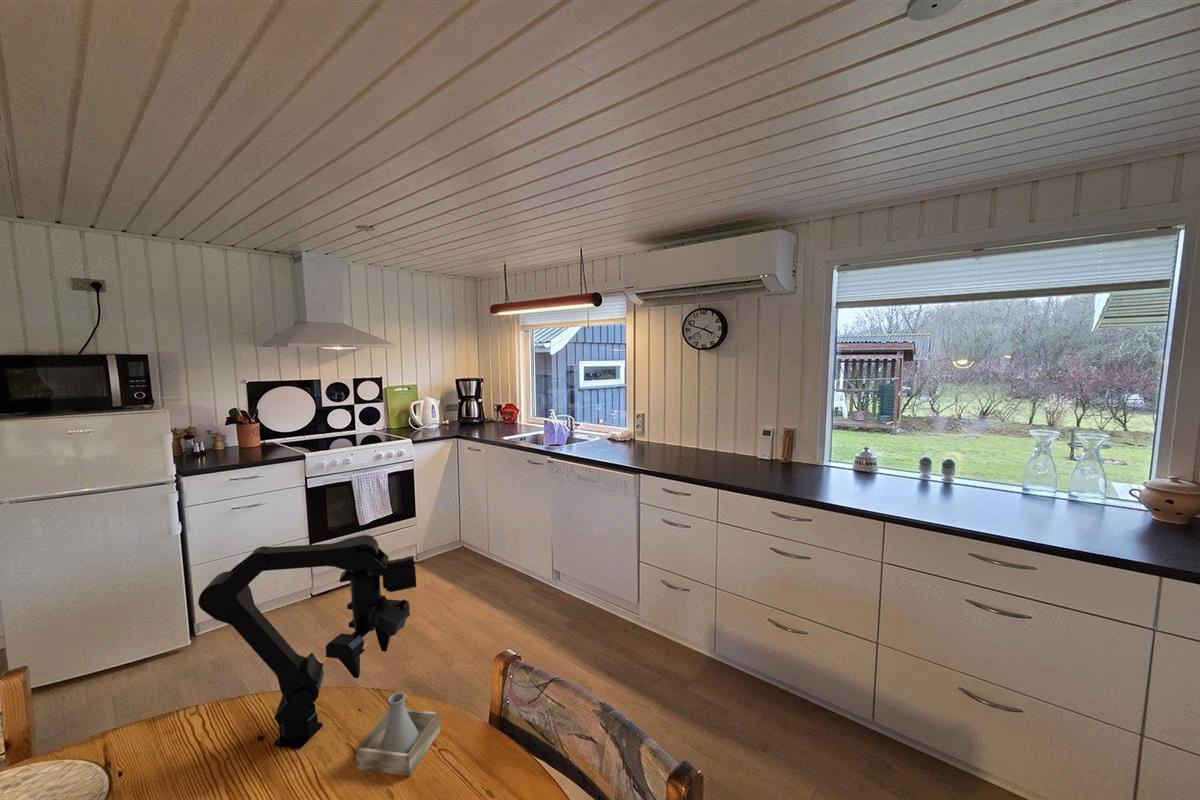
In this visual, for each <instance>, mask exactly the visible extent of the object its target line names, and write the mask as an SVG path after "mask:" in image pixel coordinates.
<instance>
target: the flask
mask: <svg viewBox="0 0 1200 800" xmlns="http://www.w3.org/2000/svg"><path fill="white" fill-rule="evenodd" d="M405 699H406V693H404V692H402V691H401V692H394V693H392V695H390V696H389V697H388V699H387V701H386V702H387V704H388V706H389V707H388V708H389V709H390V712H389V720H388V723H387V727H386V730H385V734H384V737H383V740H382V744H381V747H380V750H384V751H391V752H399V753H408V752H409V751H410V750H411V748H412V747H413V746H414V744H415V743H416V741H417V740H418V738H419V735H420V734H419V732H418V730H417V729H416V727H415V725H414V724H413V722H412V720H411V718H410V717H409V715H408V713H407V710H406V709H407V707H406V704H405V702H406V701H405Z"/></svg>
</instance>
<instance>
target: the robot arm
mask: <svg viewBox="0 0 1200 800" xmlns="http://www.w3.org/2000/svg"><path fill="white" fill-rule="evenodd" d="M319 567H320V568H321V567H331V568H332V567H335V568H337V569H340V570H344V571H343V572H342V573H341V574H340V576H339V580H338V581H339V582H340V583H345V582H350V595H351V602H349V603H347V605H346V606H347V610H351V611H352V612H351V613H352V620H350V622H348V628H349V629H350V628H351V629H354V631H353V633H350V634H349V633H339V634H338V635H337V636H336V637H335V638H333V639H331V641H329V642H328V643H327V645H326V646H325V655H326V658H331V659H337V660H339V661H340V663H342V664H343V665H344V667H345V668H346V669H347V671H348V672H349V674H350V675H351V676H352V678H353V679H359V678H360V673H361V663H360V662H361V655H362V654H363V653H364V652H365V651H366V650H365V648H364V646H365V640H364V638H365V637H366V636H368V635H369V634H370V633H371V632H373V631H374V630H375V634H376V637H377V640H378V644H379V647H380V650H381V652H384V653H385V652H387V651H388V648H389V644H390V640H391V637H393V636H395V635H397V633H398V632H399V631H400V630H401V629H404V627H405V624H406V621H407V619H408V618H409V617H410V616H411V613H410V610H411V609H410V602H409V600H407V599H401V600H398V599H389V598H387V597H386V595H383V594H381V593H382V591H381V577H380V576H382V587H383V589H385V590H386V592H389V593H392V592H393V593H394V592H398V591H403V590H405V591H406V590H409V589H415V588H417V572H416V565H415V557H414V555H409V556H406V557H404V558H397V559H392V560H389V556H388V555H387V554H386V552H384V551H383V550H382V549H381V548H380V547H379V543H378V540H377V539H376V538H375V537H373V536H372V535H370V534H369V535H368V534H363V535H362V534H361V535H358V536H353V537H352V536H351V537H348V538H345V539H343V540H339V541H336V542H333V543H319V544H304V545H302V544H301V545H300V544H299V545H285V546H283V545H282V546H265V545H264V546H259V547H257V548H255V549H254V550H253V551H252V552H251V553H250V554H249V555H248V556H247V557H246V558H244V559H243V560H242V561H240V562H239V563H238V564H237V565H235V566H234V567H233V568H232V569H231V570H229V571H223V572H221V573H219V574H218V575H216V576H215V577H214V578H213V579H212V580H211V581H210V583H208V585H207V586H206V587H205V588H204V589H203V590H202V591H201V593H200V594H199V598H198V602H197V603H198V607H199V608H200V609H201V610H202V611H203V612H205V613H206V614H207V615H208V616H209V617H211V618H212V619H214V620H215V621H217V622H222V623H225V624H228V625H230V626H231V627H232V628H233V629H234V630H235V631H236V632H237V633H238V634H239V635H240V636H241V638H242V639H243V640H244V641H245V642H246V644H248V645H249V647H250V648H251V649H252V650H253V651H254V652H255V654H257V655H258V657H259V658H260V659H261V660H262V661H263V663H265V664H266V665H267V666H268V668H269V669H270V670H271V671H272V673H274V674H275V676H276V678H277V683H278V685H279V686H278V687H279V689H280V693H281V695H282V696H281V698H280V701H279V704H278V706H277V709H276V712H275V714H274V720H275V721H276V723H277V725H278V731H279V737H278V738H276V739H275V741H273V746H274V747H275V746H276V747H279V748H280V747H282V748H290V749H297V750H299V749H302V748H303V747H304V746H305V745H306V744H307V743H308V742H309V741H310V740H311V739H312V737H314V735H316V734H317V732H318V731H320V730H321V728H323V726H324V724H323V722H321V721H319V719H318V712H317V711H316V703H315V702H316V701H317V699H318V698H319V695H320V694H319V693H320V691H321V686H322V682H323V679H324V676H325V675H324V669H323V668H324V663H322V662H320V661H319V660H318V659H317V657H316V655H315V653H313V652H311V653H310V654H308V655H307V656H303V655H300V654H298V653H297V652H296V651H295V650H294V649H293V648H292V646H291V645H290V644H289V643H288V642H287V640H286V639H285V638H284V637H283V636H282V634H280V632H279V630H278V629H276V628H275V627H274V626H273V624H272V623H271V621H269V619H267V617H266V616H265V615H264V614H263V613H262V612H261V610H259V608H258V607H257V606H256V604H255V602H254V598H253V593H252V590H251V588H250V586H249V584H251V582H252V581H253V580H255V578H257V576H259V575H260V574H261V573H262V572H266V571H269V572H270V571H278V570H279V571H280V570H293V569H306V568H307V569H308V568H319ZM277 630H278V631H277Z"/></svg>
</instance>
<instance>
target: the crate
mask: <svg viewBox="0 0 1200 800" xmlns="http://www.w3.org/2000/svg"><path fill="white" fill-rule="evenodd" d="M406 710H407V713H408V715H409V717H410V718H411V720H412V722H413V724H414V725H415V727H416V729H417V730H418V732H419V734H420V735H419V738H418V740H417V741H416V743H415V744H414V746H413V747H412V748H411V750H410V751H409V752H408V753H399V752H391V751H384V750H380V747H381V744H382V740H383V737H384V734H385V730H386V727H387V723H388V720H389V712H390V708H388V710H387V712H385V713H384V715H383V716H382V717H381V718H380V720H379V721H378V722H377V723H376V724H375V726H374V727H373V728H372V729H371V731H370V732H369V733H368V734H367V735H366V737H365V738H364V739H363V740H362V742H360V744H359V745H358V746H357V747H356V748H355V759H356V769H357V770H362V771H369V772H370V771H371V772H377V773H384V774H389V775H390V774H392V775H398V776H404V777H405V776H406V777H411V776H412V774H413V773H414V771H415V770H416V769H417V767H418V765H419V764H420V762H421V760H422V759H423V758H424V756H425V754H426V753H427V752H428V750H429V749H430V747H431V745H432V744H433V743H434V741H435V740H436V738H437V736H438V735H439V734H440V732H441V723H440V721H441V719H440V712H437V711H429V710H428V711H427V710H419V709H410V708H406Z"/></svg>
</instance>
